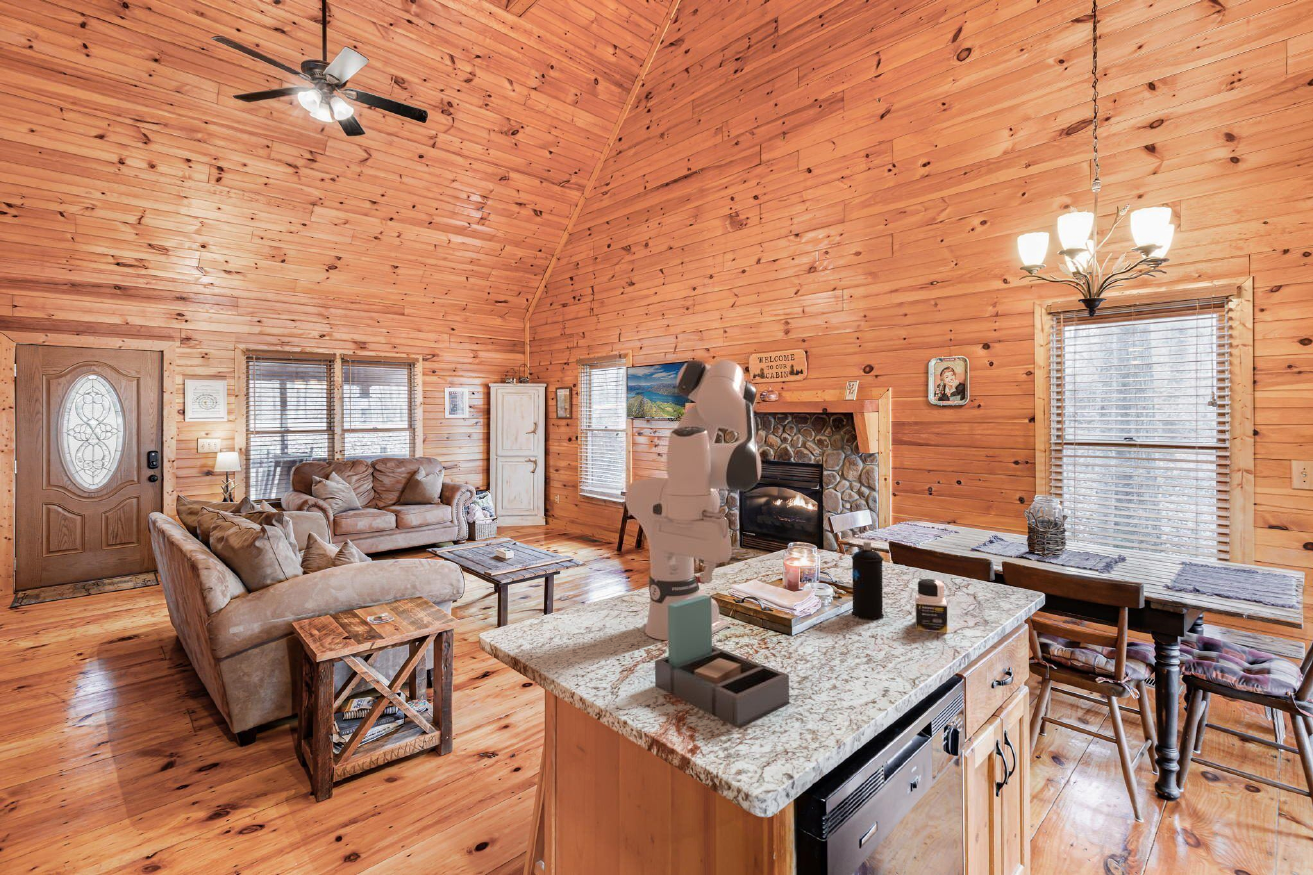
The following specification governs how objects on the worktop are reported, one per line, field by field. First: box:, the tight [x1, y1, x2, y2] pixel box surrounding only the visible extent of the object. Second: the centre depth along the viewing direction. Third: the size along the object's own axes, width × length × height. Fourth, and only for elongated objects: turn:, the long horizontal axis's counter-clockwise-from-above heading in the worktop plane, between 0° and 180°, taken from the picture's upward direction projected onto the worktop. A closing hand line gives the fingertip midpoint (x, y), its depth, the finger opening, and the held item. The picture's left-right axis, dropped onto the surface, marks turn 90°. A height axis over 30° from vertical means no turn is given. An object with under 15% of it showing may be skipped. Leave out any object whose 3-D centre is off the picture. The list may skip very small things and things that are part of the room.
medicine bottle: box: [914, 578, 948, 634], centre depth 153 cm, size 7×7×12 cm
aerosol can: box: [851, 541, 885, 621], centre depth 163 cm, size 8×8×20 cm
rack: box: [654, 645, 792, 730], centre depth 113 cm, size 14×22×6 cm, turn 40°
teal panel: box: [667, 594, 713, 666], centre depth 119 cm, size 10×2×16 cm, turn 130°
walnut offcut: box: [694, 658, 741, 685], centre depth 113 cm, size 8×5×2 cm, turn 138°
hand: (689, 577), depth 119 cm, fingers open, 8 cm apart
